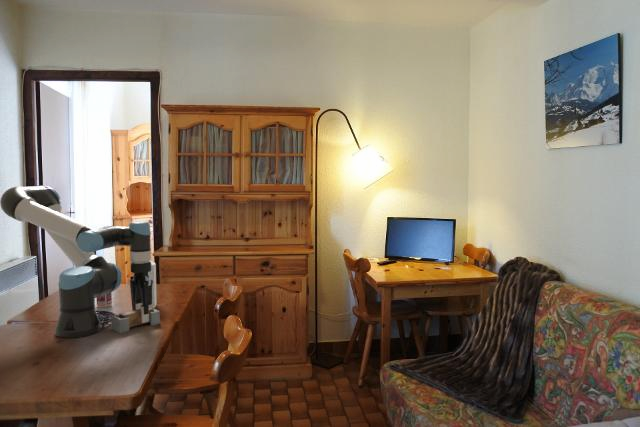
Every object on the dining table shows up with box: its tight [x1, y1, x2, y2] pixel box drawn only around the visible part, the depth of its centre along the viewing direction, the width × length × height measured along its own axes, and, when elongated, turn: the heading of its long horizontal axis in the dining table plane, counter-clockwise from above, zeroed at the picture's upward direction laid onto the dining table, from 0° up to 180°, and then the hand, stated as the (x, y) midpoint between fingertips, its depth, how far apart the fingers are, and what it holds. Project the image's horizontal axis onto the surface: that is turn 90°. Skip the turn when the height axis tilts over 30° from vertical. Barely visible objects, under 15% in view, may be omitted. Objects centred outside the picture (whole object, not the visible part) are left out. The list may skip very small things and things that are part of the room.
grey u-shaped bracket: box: [110, 313, 130, 334], centre depth 187 cm, size 4×7×5 cm, turn 47°
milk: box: [148, 259, 157, 309], centre depth 218 cm, size 6×6×22 cm
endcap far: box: [149, 308, 161, 326], centre depth 196 cm, size 4×7×5 cm, turn 47°
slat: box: [118, 308, 154, 328], centre depth 192 cm, size 12×4×5 cm, turn 139°
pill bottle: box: [96, 292, 113, 308], centre depth 219 cm, size 6×6×11 cm
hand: (142, 320), depth 194 cm, fingers closed on slat, 4 cm apart
